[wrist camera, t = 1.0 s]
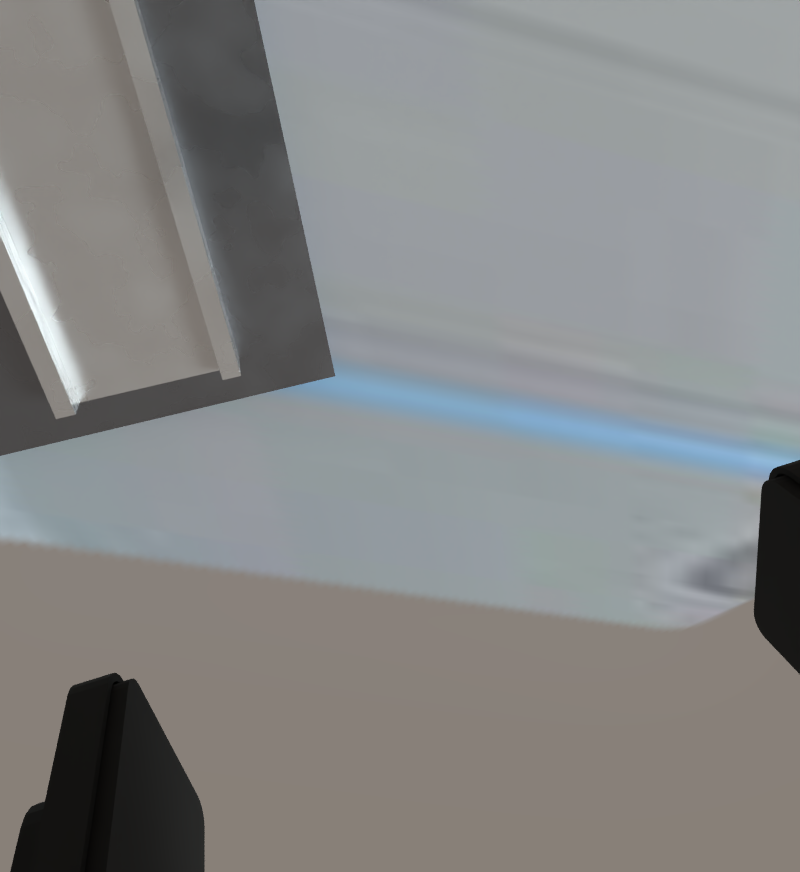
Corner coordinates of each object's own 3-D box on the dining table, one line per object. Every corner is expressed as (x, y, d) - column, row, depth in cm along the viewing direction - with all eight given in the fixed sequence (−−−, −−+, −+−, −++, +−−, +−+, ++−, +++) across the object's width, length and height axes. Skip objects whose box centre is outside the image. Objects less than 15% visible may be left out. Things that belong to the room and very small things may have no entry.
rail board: (-385, -319, 21) (-472, -373, 19) (170, -376, 23) (165, -432, 21) (-7, 448, 34) (-25, 483, 31) (331, 368, 36) (342, 394, 33)
